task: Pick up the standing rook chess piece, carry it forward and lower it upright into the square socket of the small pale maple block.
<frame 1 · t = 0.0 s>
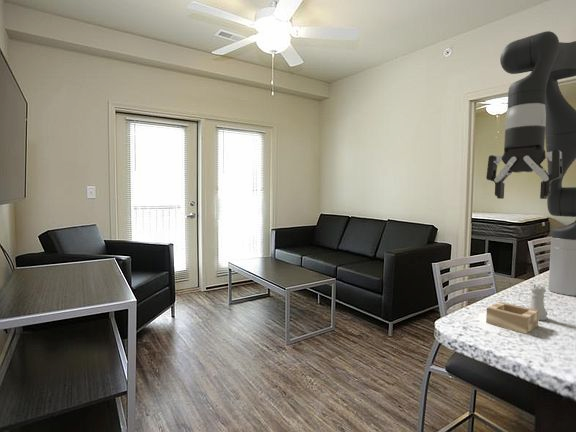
hand: (520, 198, 77), 29 cm above the countertop, tool pointing down, fingers open, 8 cm apart
rook chess piece: (536, 318, 83), on the countertop
socket block: (511, 324, 78), on the countertop
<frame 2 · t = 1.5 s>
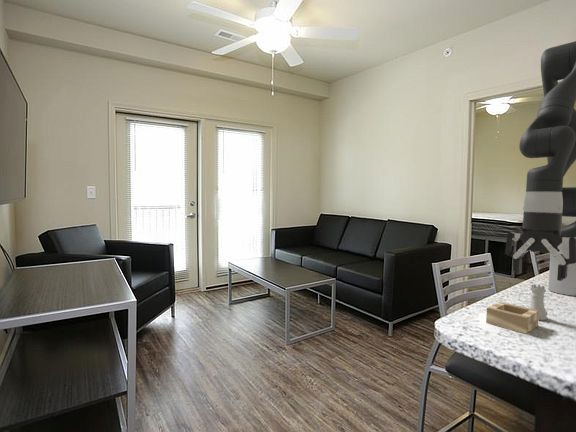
hand: (538, 276, 82), 10 cm above the countertop, tool pointing down, fingers open, 8 cm apart
nothing on the countertop moved.
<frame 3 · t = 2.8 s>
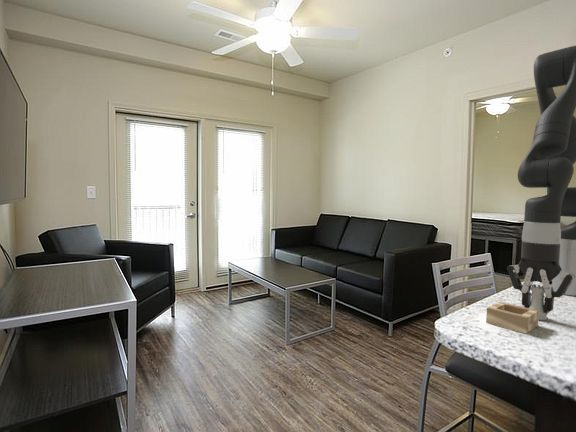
hand: (536, 309, 83), 2 cm above the countertop, tool pointing down, fingers closed on rook chess piece, 3 cm apart
rook chess piece: (536, 318, 83), on the countertop, touching gripper
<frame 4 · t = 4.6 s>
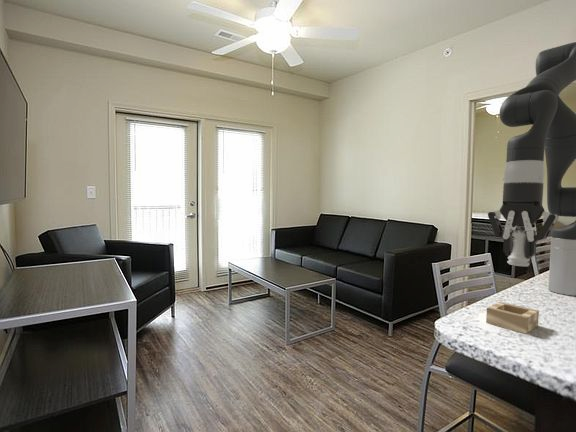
hand: (518, 256, 78), 16 cm above the countertop, tool pointing down, fingers closed on rook chess piece, 3 cm apart
rook chess piece: (518, 265, 78), point 14 cm above the countertop, touching gripper
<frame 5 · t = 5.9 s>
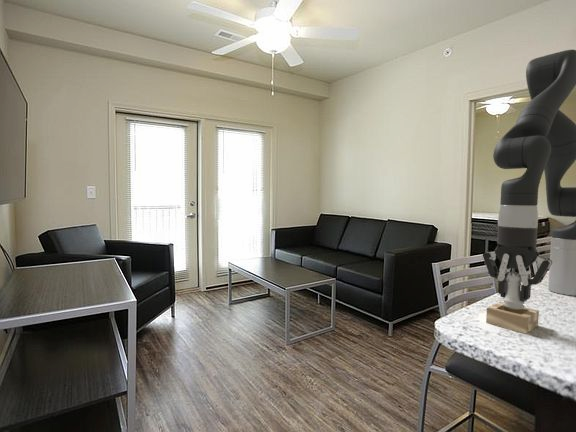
hand: (513, 298, 78), 6 cm above the countertop, tool pointing down, fingers closed on rook chess piece, 3 cm apart
rook chess piece: (512, 307, 78), point 4 cm above the countertop, touching gripper
when the fingers open (4 cm above the countertop, at t = 6.6 s): rook chess piece drops 2 cm, resting in socket block.
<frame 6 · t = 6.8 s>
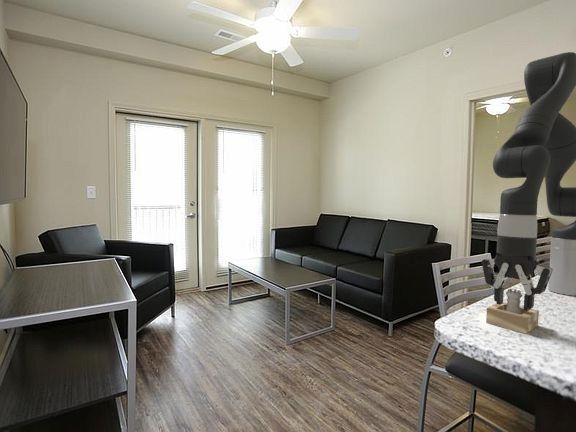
hand: (512, 306, 78), 4 cm above the countertop, tool pointing down, fingers open, 5 cm apart
rook chess piece: (512, 324, 78), resting in socket block
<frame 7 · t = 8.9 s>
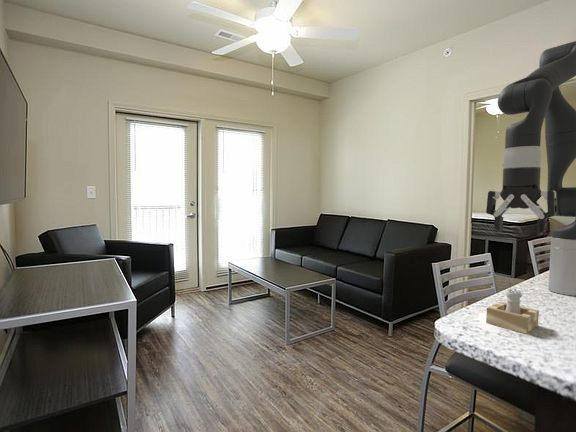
hand: (518, 232, 83), 21 cm above the countertop, tool pointing down, fingers open, 8 cm apart
nothing on the countertop moved.
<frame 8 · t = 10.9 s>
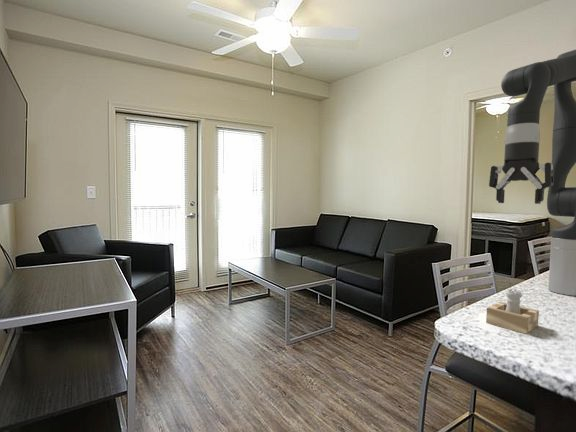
hand: (518, 203, 91), 28 cm above the countertop, tool pointing down, fingers open, 8 cm apart
nothing on the countertop moved.
at the end: rook chess piece 0.1 cm off-centre on the socket block, point 0.0 cm above the socket block's base; rook chess piece tilted 0°; the gripper is holding nothing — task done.
